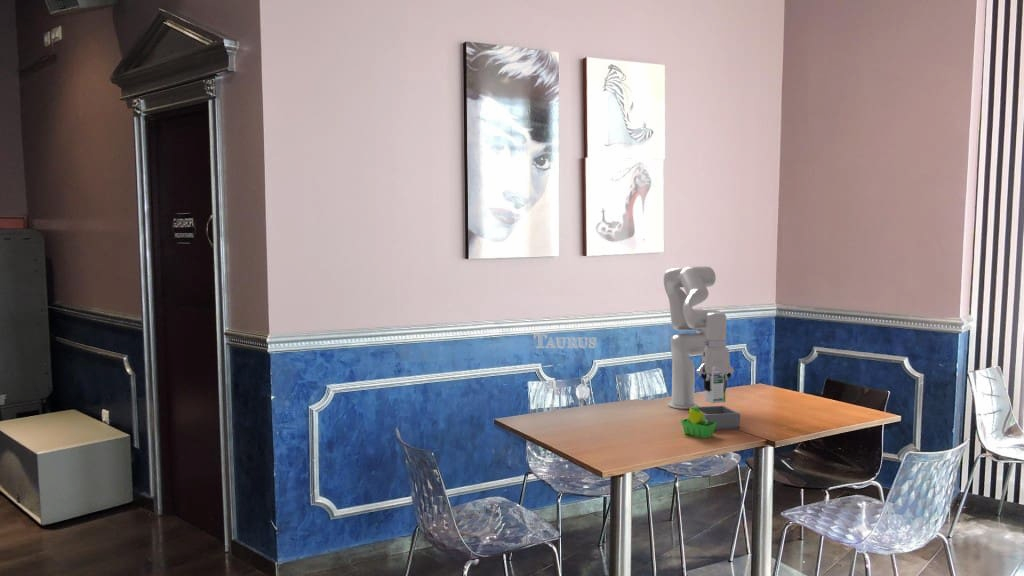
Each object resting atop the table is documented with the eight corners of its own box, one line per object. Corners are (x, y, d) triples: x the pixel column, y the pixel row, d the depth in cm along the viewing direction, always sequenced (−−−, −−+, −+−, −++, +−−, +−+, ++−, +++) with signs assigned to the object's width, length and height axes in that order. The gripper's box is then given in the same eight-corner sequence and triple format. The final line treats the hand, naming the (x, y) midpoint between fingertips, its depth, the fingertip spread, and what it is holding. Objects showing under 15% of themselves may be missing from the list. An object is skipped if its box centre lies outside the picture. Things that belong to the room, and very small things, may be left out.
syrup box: (712, 403, 307) (712, 366, 306) (704, 400, 313) (705, 363, 312) (725, 402, 309) (726, 365, 308) (717, 399, 314) (718, 363, 313)
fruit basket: (717, 436, 296) (718, 405, 295) (704, 440, 290) (705, 409, 289) (691, 430, 304) (691, 401, 303) (677, 434, 298) (678, 404, 297)
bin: (690, 422, 317) (690, 407, 317) (723, 420, 320) (723, 405, 319) (705, 430, 303) (705, 415, 303) (739, 428, 306) (739, 413, 306)
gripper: (699, 346, 304) (698, 393, 305) (741, 344, 307) (740, 391, 308) (690, 343, 311) (690, 389, 312) (731, 342, 315) (731, 387, 316)
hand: (715, 389), depth 310 cm, fingers closed on syrup box, 6 cm apart
